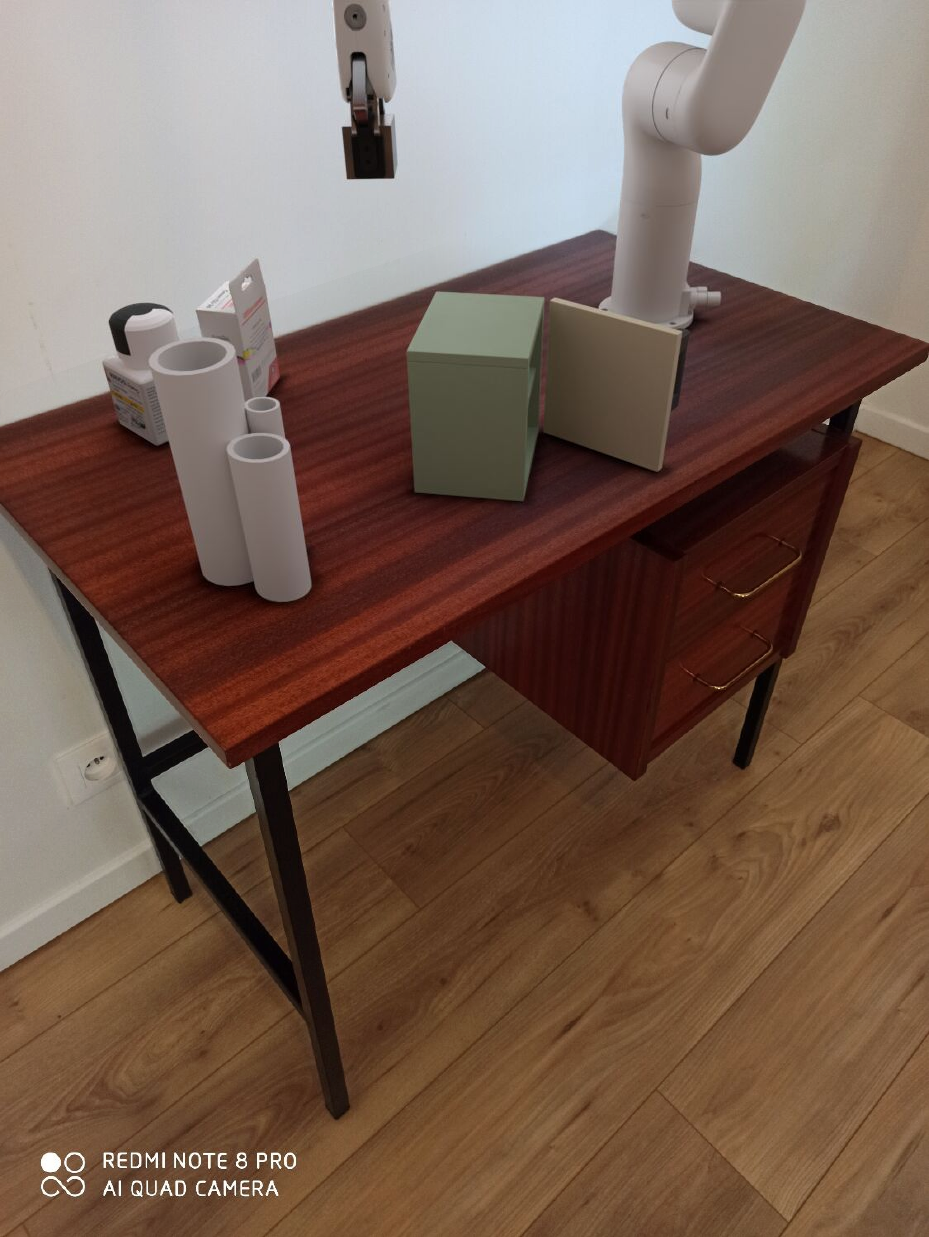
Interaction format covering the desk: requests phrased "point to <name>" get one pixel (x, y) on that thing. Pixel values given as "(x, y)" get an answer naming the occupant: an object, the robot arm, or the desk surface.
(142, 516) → the desk surface
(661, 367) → the cupboard door
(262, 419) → the vase
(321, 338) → the desk surface
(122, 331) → the container
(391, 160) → the block
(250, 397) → the ink cartridge box
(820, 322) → the desk surface
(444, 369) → the cupboard
